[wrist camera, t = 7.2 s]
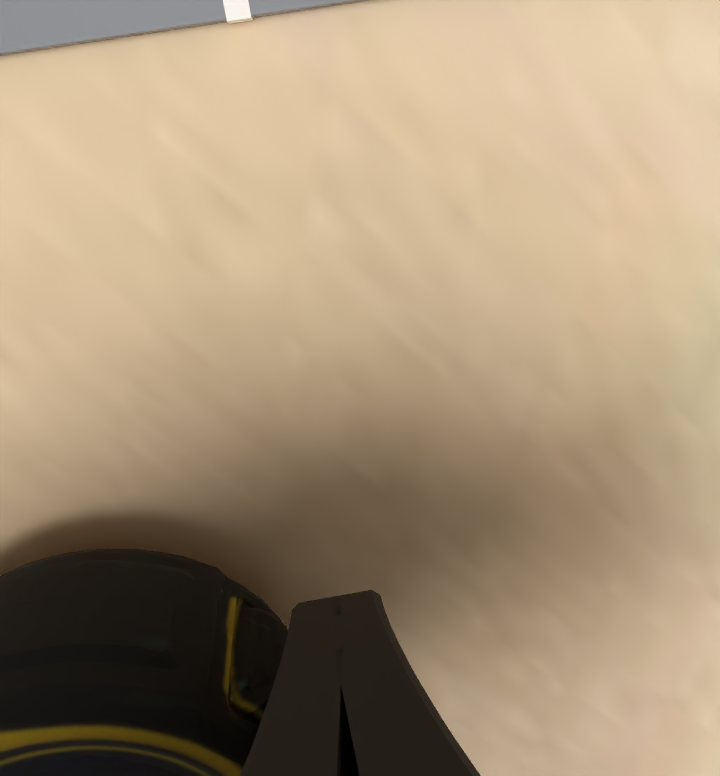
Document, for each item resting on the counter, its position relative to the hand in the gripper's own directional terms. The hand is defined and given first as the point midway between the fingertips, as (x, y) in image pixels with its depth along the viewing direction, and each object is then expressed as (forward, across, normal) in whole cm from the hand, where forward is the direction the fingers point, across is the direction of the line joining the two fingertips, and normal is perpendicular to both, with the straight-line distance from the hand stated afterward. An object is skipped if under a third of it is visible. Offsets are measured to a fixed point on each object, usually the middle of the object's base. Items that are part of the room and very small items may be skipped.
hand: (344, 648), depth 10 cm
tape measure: (+3, +4, +2) cm, 5 cm away
